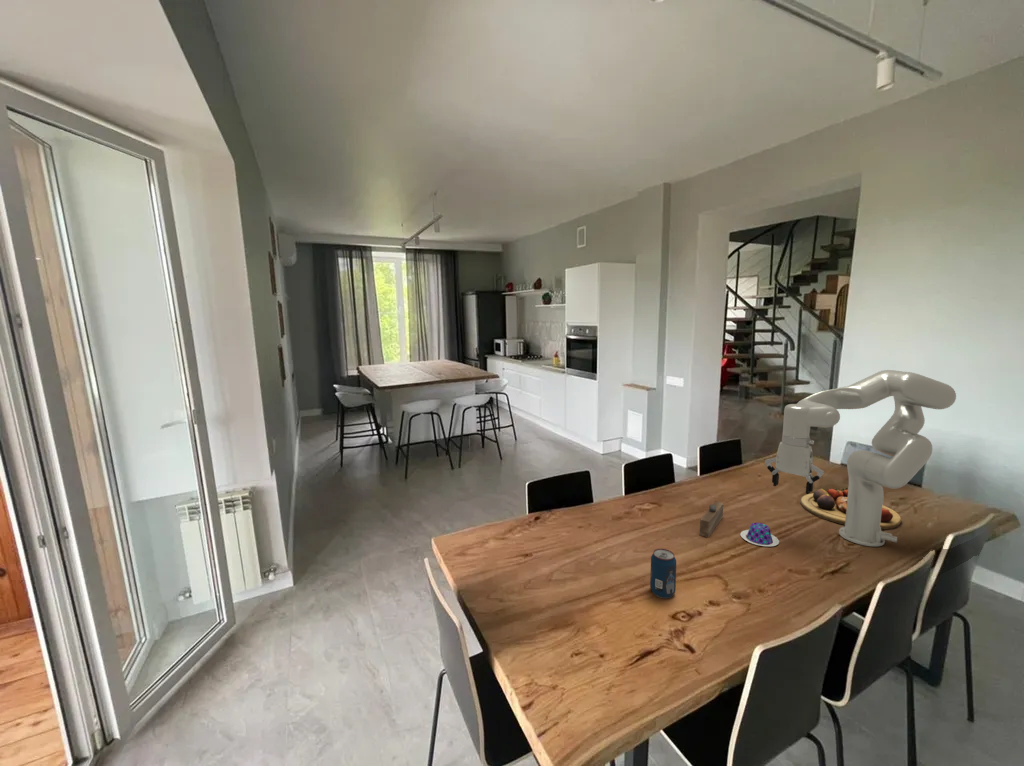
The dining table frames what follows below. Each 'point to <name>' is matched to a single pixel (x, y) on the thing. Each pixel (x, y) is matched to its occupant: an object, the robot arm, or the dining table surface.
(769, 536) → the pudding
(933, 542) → the dining table surface
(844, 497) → the wooden plate with food
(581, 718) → the dining table surface
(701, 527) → the rail
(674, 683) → the dining table surface
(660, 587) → the soda can
